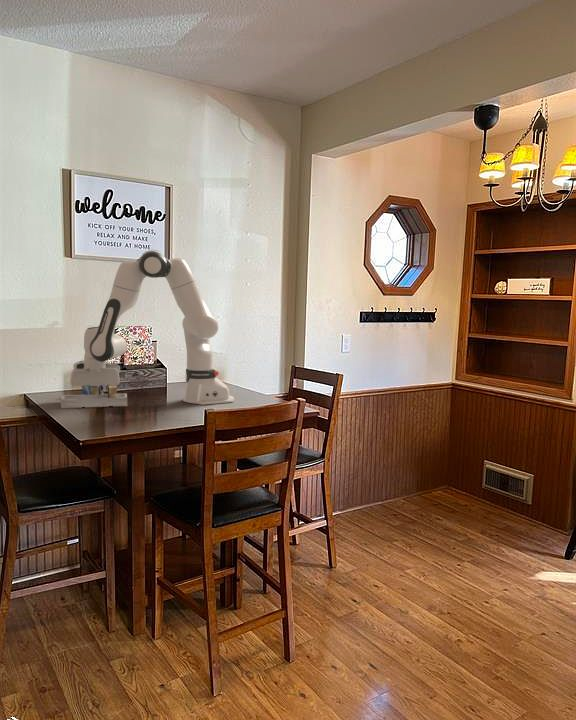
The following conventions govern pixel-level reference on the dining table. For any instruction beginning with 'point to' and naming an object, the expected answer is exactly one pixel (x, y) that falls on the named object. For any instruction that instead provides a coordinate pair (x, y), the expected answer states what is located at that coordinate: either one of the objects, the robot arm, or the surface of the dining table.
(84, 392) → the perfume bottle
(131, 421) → the dining table surface
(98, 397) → the rail
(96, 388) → the finger block
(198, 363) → the robot arm
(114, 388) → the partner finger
